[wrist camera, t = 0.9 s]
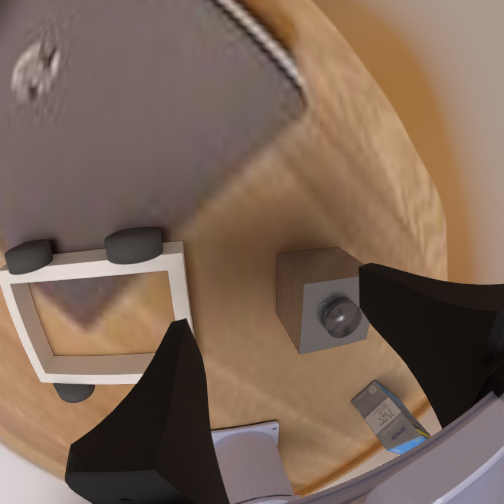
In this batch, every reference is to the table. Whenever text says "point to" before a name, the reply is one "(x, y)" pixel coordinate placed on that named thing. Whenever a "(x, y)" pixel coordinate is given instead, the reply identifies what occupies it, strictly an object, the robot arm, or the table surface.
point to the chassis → (83, 266)
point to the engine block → (319, 298)
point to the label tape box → (389, 419)
